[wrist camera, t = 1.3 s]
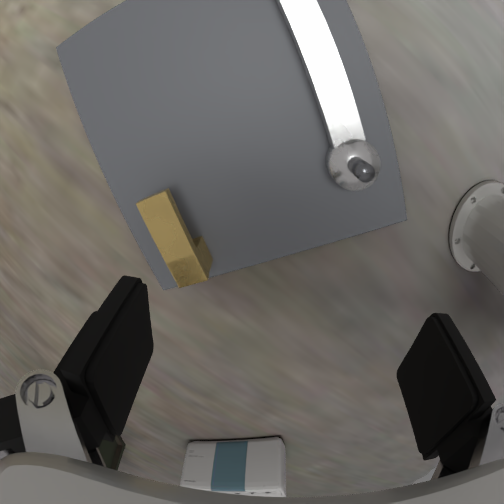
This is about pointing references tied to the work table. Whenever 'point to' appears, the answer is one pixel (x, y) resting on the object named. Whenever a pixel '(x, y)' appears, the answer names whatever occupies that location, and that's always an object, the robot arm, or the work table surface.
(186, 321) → the work table surface
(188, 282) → the strip
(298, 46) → the link
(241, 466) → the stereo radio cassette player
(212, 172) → the base plate
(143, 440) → the work table surface
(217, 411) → the work table surface
